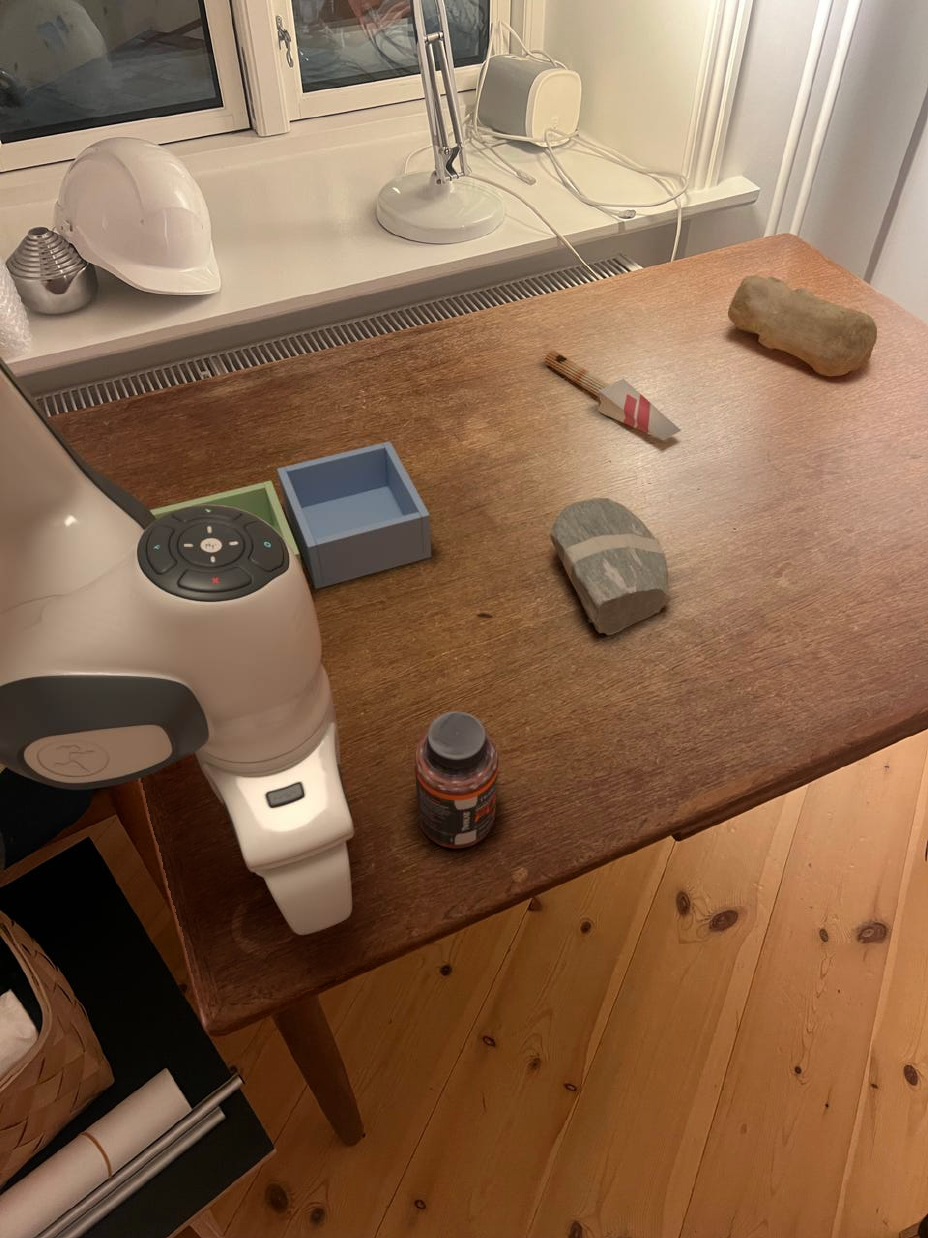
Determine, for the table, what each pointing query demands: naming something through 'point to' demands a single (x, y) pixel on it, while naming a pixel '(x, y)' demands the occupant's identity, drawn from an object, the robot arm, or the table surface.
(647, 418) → the trowel
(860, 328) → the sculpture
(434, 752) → the supplement bottle
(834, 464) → the table surface
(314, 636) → the robot arm
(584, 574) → the decorative stone
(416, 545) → the blue bin
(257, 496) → the sage bin
